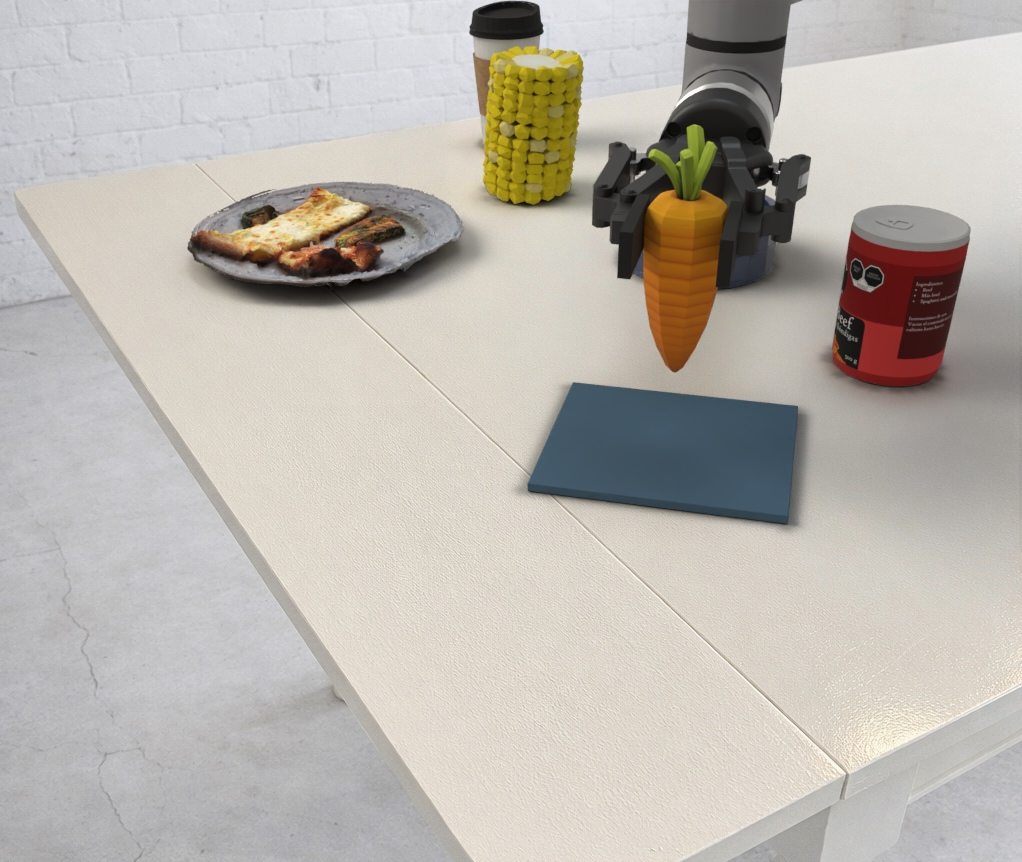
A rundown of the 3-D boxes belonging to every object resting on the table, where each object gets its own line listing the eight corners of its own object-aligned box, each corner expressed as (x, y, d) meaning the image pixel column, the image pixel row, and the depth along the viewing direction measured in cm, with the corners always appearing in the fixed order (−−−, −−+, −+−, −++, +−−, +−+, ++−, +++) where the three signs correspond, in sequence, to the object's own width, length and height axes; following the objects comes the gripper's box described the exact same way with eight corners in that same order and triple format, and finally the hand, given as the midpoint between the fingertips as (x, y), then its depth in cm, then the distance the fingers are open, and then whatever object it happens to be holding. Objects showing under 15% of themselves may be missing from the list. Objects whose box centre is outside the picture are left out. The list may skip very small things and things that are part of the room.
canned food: (835, 336, 89) (857, 199, 82) (941, 350, 86) (972, 210, 80) (823, 379, 83) (847, 234, 76) (938, 395, 80) (971, 247, 74)
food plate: (319, 327, 91) (314, 286, 89) (139, 264, 103) (131, 226, 101) (506, 236, 108) (506, 200, 106) (332, 191, 120) (329, 158, 118)
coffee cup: (556, 139, 134) (558, 4, 126) (518, 158, 129) (516, 16, 120) (498, 129, 138) (496, -3, 130) (458, 146, 132) (453, 9, 124)
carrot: (683, 397, 69) (704, 149, 60) (619, 372, 71) (631, 132, 63) (729, 370, 72) (756, 129, 63) (666, 347, 74) (683, 114, 66)
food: (514, 188, 125) (589, 210, 120) (447, 191, 116) (525, 216, 111) (537, 40, 118) (618, 58, 113) (469, 32, 109) (553, 51, 104)
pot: (777, 239, 106) (784, 186, 104) (768, 295, 95) (775, 238, 93) (634, 228, 109) (637, 177, 106) (610, 282, 98) (612, 226, 95)
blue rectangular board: (797, 413, 79) (798, 405, 78) (787, 524, 67) (788, 516, 67) (572, 389, 82) (572, 381, 82) (527, 491, 71) (527, 483, 70)
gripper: (837, 201, 81) (830, 338, 62) (592, 183, 84) (517, 308, 66) (854, 92, 77) (853, 205, 58) (595, 78, 80) (516, 180, 62)
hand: (674, 259), depth 62 cm, fingers closed on carrot, 5 cm apart
